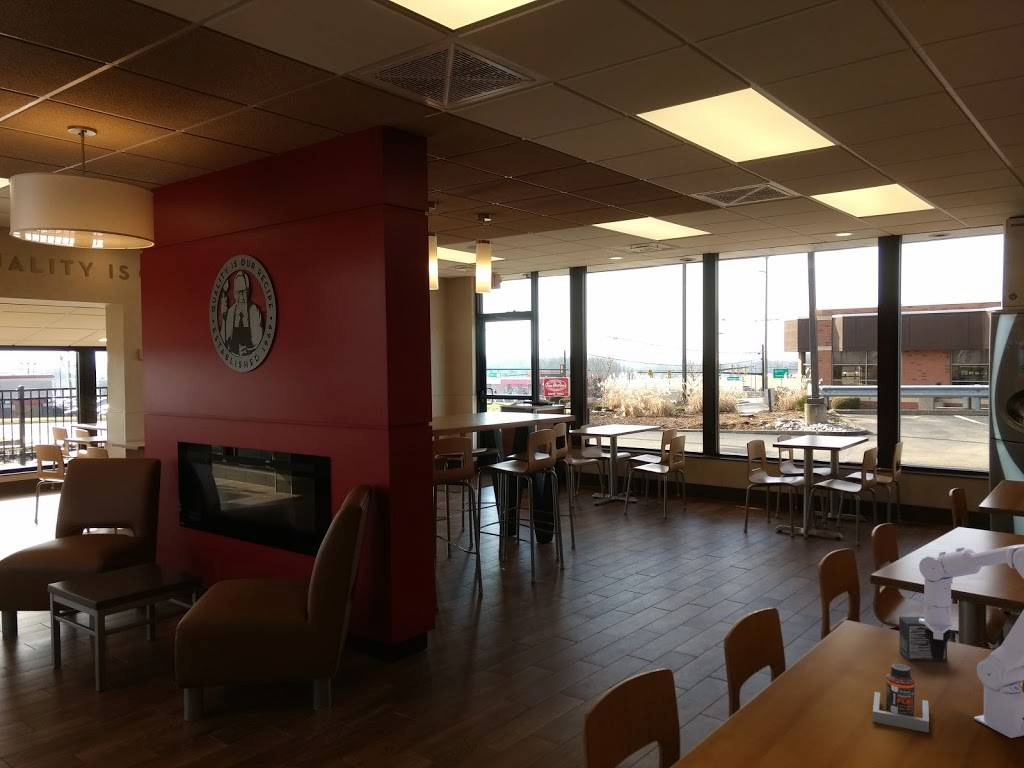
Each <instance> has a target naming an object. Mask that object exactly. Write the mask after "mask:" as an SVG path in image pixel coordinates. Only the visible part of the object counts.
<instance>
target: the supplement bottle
mask: <svg viewBox="0 0 1024 768" xmlns="http://www.w3.org/2000/svg"><path fill="white" fill-rule="evenodd" d="M885 684H886V686H885V687H886V688H885V689H886V690H885V692H886V693H885V695H886V696H885V711H886V712H891V713H897V714H902V715H908V716H913V717H915V716H914V715H915V707H916V706H915V694H916V693H915V691H916V690H915V689H916V687H915V678H914V677H913V676H912V675H911V668H910V666H908V665H906V664H901V663H893V664H891V666H890V672H888V673H887V674H886V683H885Z"/></svg>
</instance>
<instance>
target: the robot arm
mask: <svg viewBox="0 0 1024 768" xmlns="http://www.w3.org/2000/svg"><path fill="white" fill-rule="evenodd" d="M1002 564H1007V565H1008V567H1009V568H1011V569H1015V570H1016V571H1017V572H1018V574H1019V575H1020V577H1021V578H1022V579H1023V580H1024V543H1023V544H1022V543H1021V544H1015V545H1009V546H1004V547H999V548H995V549H989V550H986V551H982V552H975V551H974V550H972V549H969V548H966V549H965V547H963V546H962V547H958V548H956V549H955V551H951V552H946V551H942V552H941V551H940V552H939V553H938V554H936V555H929V556H928V555H927V556H926V557H924V558H922V559H921V560H920V562H919V563H918V566H919V571H920V574H921V576H922V577H923V578H924V584H923V585H924V590H923V591H924V593H923V594H924V604H923V605H924V606H923V607H924V609H923V610H924V613H923V614H924V615H923V617H924V619H922V618H919V623H921V624H925V625H926V627H924V631H925V635H926V636H927V638H928V641H929V644H930V650H931V655H932V658H933V659H937V660H942V659H943V655H944V651H945V647H946V644H947V645H948V642H949V641H950V639H951V636H952V633H951V628H952V625H953V624H952V584H953V578H957V577H962V576H969V575H976V574H978V573H979V572H980V571H981V569H982V568H983V567H987V566H995V565H1002ZM976 674H977V676H978V678H979V680H980V681H981V683H982V686H983V714H981V715H977V716H974V717H973V719H974V720H976V721H977V722H978V723H979V722H980V723H981V724H983V725H985V726H986V727H989V728H990V729H992V730H995V731H996V732H998V733H1000V734H1002V735H1004V736H1007V737H1008V738H1010V739H1013V738H1017V737H1022V736H1024V691H1023V688H1022V687H1023V683H1024V609H1023V610H1022V612H1020V615H1019V616H1018V618H1017V620H1016V621H1015V623H1014V624H1013V626H1012V627H1011V629H1010V631H1009V632H1008V633H1007V635H1006V637H1005V639H1004V640H1003V642H1002V643H1001V645H1000V646H998V647H997V648H996V649H994V650H992V652H991V653H989V655H988V656H987V658H985V659H982V660H980V661H979V662H978V664H977V666H976Z"/></svg>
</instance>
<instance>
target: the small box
mask: <svg viewBox="0 0 1024 768" xmlns="http://www.w3.org/2000/svg"><path fill="white" fill-rule="evenodd" d="M919 618H922V619H924V616H899V617H898V619H899V620H898V622H899V624H898V625H899V629H898V630H899V634H898V635H899V637H898V638H899V654H901V656H902V657H904V659H906V660H907V661H909V662H911V661H912V662H914V661H915V662H916V661H917V662H919V661H918V660H921V661H920V662H948V643H947V644H946V647H945V651H944V655H943V659H942V660H937V659H933V658H932V655H931V650H930V644H929V641H928V638H927V636H926V635H925V631H924V627H926V625H925V624H921V623H919Z"/></svg>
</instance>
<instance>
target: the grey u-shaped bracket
mask: <svg viewBox="0 0 1024 768" xmlns="http://www.w3.org/2000/svg"><path fill="white" fill-rule="evenodd" d="M873 697H874V698H873V704H872V705H873V706H872V723H875V722H877V723H876V724H881V723H882V725H886V726H892V727H897V728H904V729H909V730H913V731H918V732H923V733H930V715H929V714H930V712H929V700H927V699H925V700H923V699H922V702H921V704H922V706H921V709H922V710H921V711H922V717H918V716H908V715H902V714H897V713H891V712H887V711H886V710H885V711H884V710H881V692H879V691H874V696H873Z"/></svg>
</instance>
